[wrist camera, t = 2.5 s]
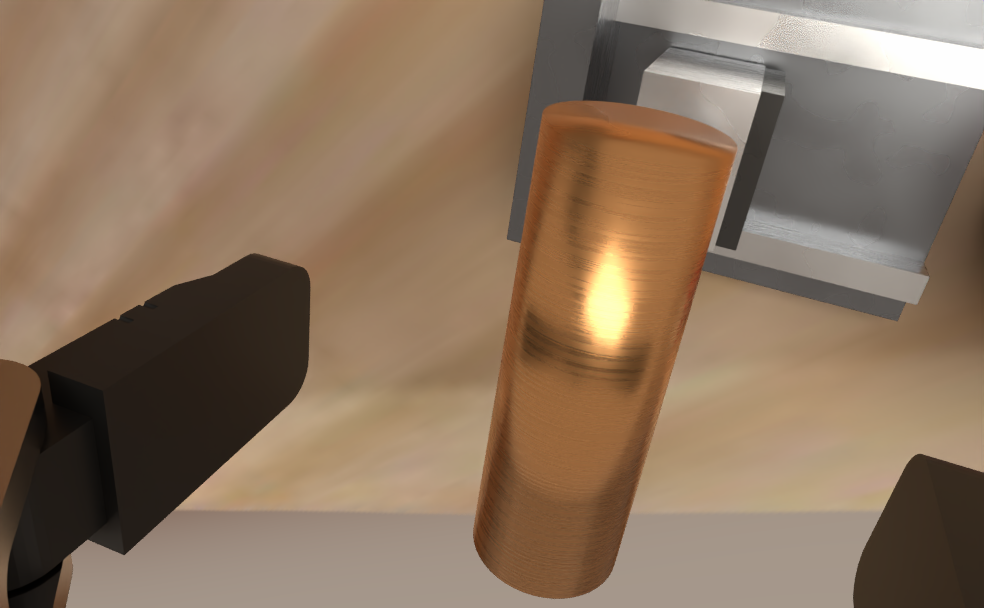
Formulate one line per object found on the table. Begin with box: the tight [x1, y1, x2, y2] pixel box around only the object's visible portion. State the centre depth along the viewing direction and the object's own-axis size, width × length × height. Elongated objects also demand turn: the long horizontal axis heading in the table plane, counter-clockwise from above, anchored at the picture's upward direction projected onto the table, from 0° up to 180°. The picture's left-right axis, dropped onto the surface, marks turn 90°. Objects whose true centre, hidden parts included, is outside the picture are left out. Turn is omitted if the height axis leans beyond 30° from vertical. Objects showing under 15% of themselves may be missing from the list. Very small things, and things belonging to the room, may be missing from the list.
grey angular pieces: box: [507, 0, 984, 321], centre depth 20 cm, size 24×10×10 cm, turn 83°
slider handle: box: [473, 47, 785, 599], centre depth 17 cm, size 4×7×18 cm, turn 172°
